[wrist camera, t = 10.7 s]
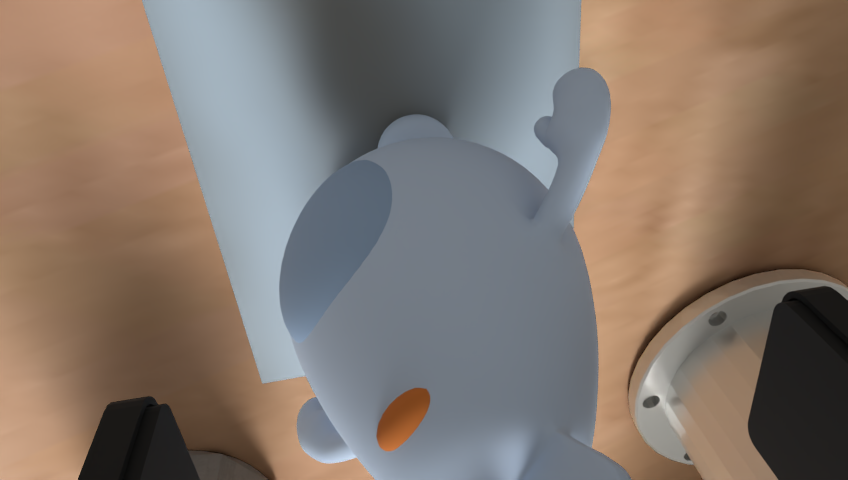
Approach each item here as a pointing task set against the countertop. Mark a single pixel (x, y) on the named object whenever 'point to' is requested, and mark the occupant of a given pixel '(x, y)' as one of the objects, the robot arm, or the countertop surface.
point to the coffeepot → (222, 467)
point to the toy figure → (452, 305)
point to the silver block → (342, 107)
